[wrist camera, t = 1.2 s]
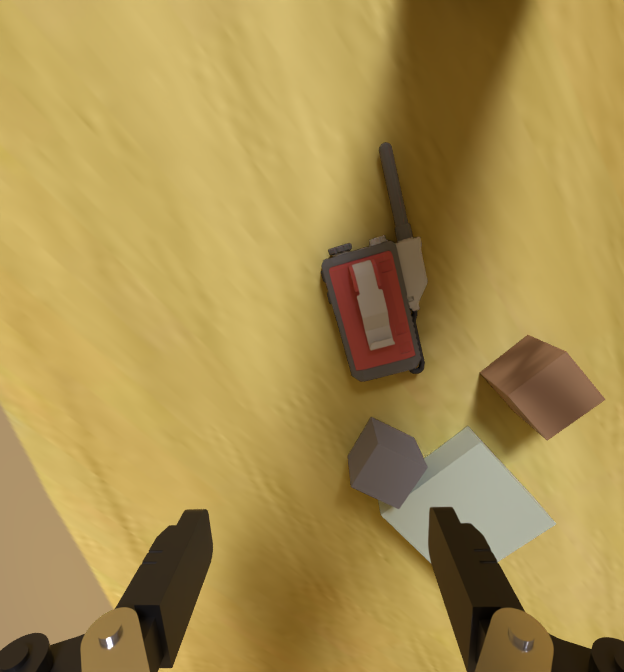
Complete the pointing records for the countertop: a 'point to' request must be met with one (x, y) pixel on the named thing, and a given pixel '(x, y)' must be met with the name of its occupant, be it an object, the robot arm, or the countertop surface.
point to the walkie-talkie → (379, 293)
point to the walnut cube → (542, 385)
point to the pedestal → (470, 498)
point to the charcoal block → (385, 463)
